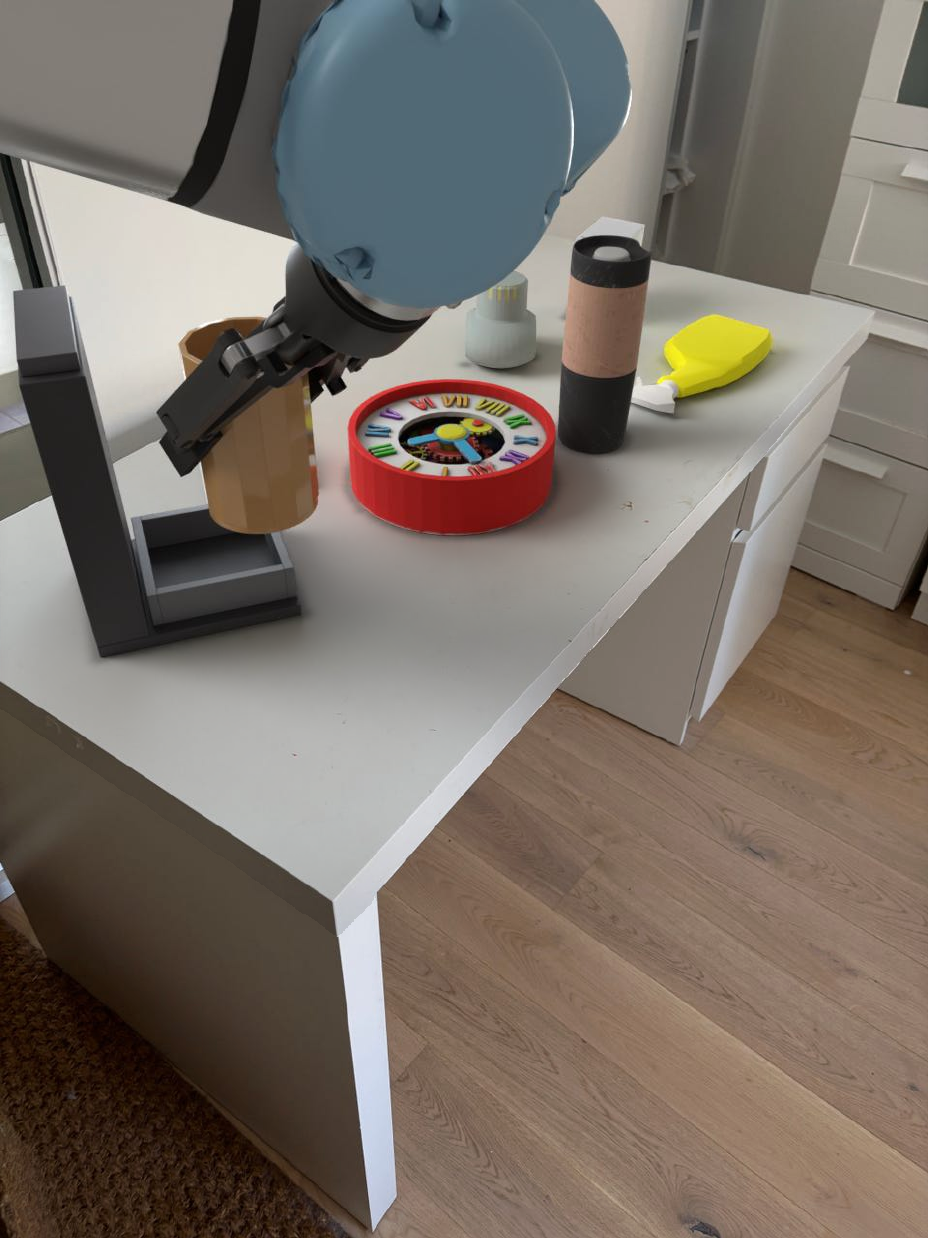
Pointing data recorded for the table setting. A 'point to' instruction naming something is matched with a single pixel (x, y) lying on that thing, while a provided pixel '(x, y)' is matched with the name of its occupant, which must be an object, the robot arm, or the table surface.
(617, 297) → the travel mug
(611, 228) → the cosmetics box
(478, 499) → the toy clock
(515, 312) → the air freshener
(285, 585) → the coffee maker
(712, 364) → the spray bottle
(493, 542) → the table surface
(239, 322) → the cup
